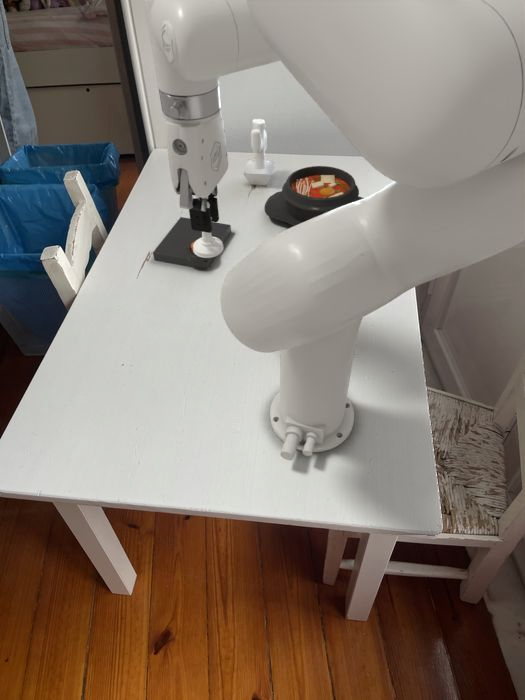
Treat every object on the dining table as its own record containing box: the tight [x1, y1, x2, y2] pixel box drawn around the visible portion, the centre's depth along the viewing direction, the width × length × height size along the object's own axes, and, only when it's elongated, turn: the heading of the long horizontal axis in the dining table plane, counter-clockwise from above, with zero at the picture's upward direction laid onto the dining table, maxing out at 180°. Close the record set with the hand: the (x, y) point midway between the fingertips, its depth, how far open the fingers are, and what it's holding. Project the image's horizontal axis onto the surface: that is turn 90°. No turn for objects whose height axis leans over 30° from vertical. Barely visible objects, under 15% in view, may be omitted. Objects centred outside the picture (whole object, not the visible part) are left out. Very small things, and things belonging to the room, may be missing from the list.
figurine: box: [242, 118, 277, 186], centre depth 118 cm, size 7×9×15 cm
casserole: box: [264, 165, 365, 227], centre depth 108 cm, size 25×19×8 cm
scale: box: [152, 216, 232, 271], centre depth 103 cm, size 15×12×4 cm
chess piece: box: [193, 196, 225, 258], centre depth 74 cm, size 5×5×10 cm
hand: (205, 224), depth 75 cm, fingers closed on chess piece
